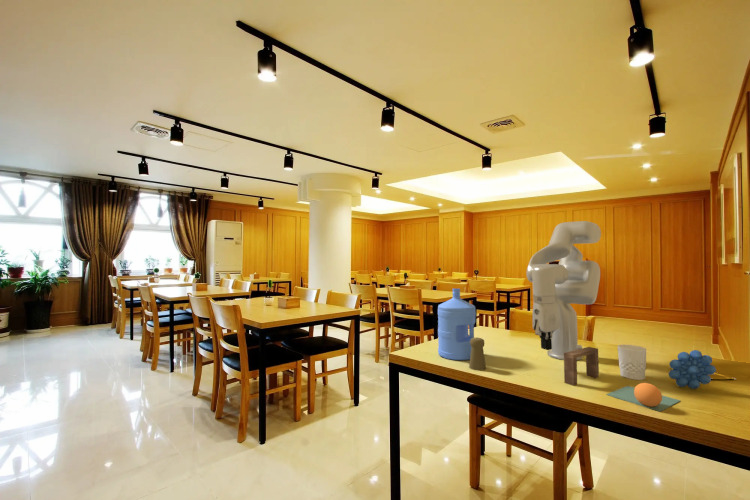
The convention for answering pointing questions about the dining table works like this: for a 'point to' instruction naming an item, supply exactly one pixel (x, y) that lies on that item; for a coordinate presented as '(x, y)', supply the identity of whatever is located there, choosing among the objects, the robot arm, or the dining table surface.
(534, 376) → the dining table surface
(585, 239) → the robot arm
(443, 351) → the water jug
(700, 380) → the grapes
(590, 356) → the bridge
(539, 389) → the dining table surface
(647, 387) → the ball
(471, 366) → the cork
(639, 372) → the white cup
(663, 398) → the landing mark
